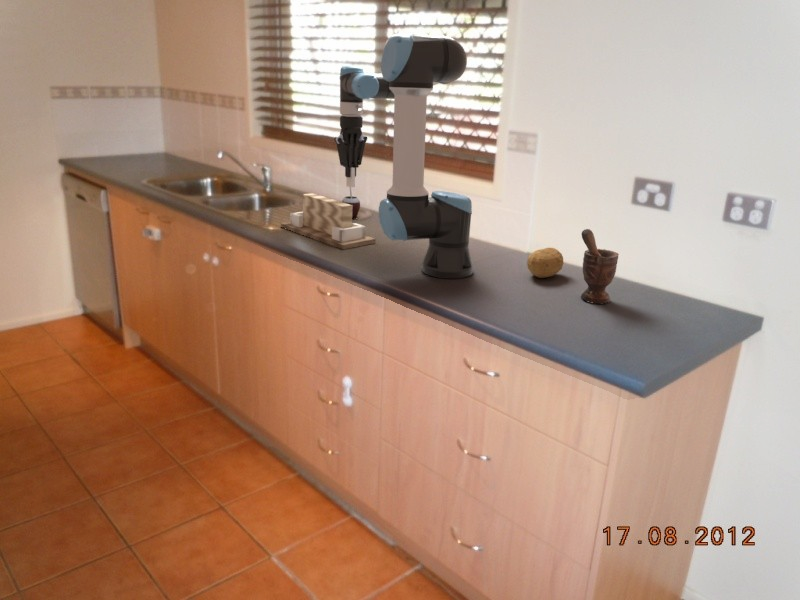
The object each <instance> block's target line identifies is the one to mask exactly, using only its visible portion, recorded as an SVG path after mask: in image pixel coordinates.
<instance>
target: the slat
mask: <svg viewBox="0 0 800 600" xmlns="http://www.w3.org/2000/svg"><path fill="white" fill-rule="evenodd" d="M352 209H353V205H350V204H346V203H343V202H342V201H339V200H337V199H332V198H329V197H326V196H323V195H319V194H316V193H313V192H312V193H311V192H309V193H304V194H302V212H303V225H305V226H308V227H311V228H313V229H316V230H319V231H322V232H324V233H327V234H330V235H332V227H335V226H336V227H339V228H342V229H344V228H350V227H352V224H353V219H352Z"/></svg>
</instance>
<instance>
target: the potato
mask: <svg viewBox="0 0 800 600" xmlns="http://www.w3.org/2000/svg"><path fill="white" fill-rule="evenodd" d="M526 266H527V270H529V272H530V273H531V275H533V276H535V277H536V278H539V279H544V278H549V277H552V276H555V275H556V274H557V273H558V272H560V271H561V270H562V269H563V267H564V256H563V254H562V252H560V251H559V250H558V249H556V248H555V247H545V248H541V249H537V250H535V251H533V252H531V253H530V254H529V256H528V257H527V261H526Z"/></svg>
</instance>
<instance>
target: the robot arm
mask: <svg viewBox="0 0 800 600" xmlns="http://www.w3.org/2000/svg"><path fill="white" fill-rule="evenodd" d="M381 56H382V57H381V62H380V63H381V64H380V71H381V73H368V72H367V73H365V72H364V69H363V67H361V66H345V65H344V66H341V67H340V72H339V73H340V74H339V114H340V115H341V116H340V117H339V126H340V131H339V135H338V136H336V137H334V142H335V144H336V148H337V153H338V159H339V164H340V166H342V167H343V168H344V172H345V173H344V176H345V179H346V187H349V188H350V187H351V188H355V187H356V177H357V168H359V167H360V166H361V165H362V161H363V156H364V152H365V146H366V142H368V137H367V136H365V135H364V134H363V132H362V128H363V124H364V123H363V109H364V105H363V104H364V100H369V99H378V100H379V99H381V100H383V99H386V100H387V99H388V100H389V99H392V100H393V99H394V107H393V141H392V142H393V146H392V147H393V148H392V149H393V151H392V152H393V153H392V185H391V186H390V188H389V189H388V190H386V198H383V199H382V200H381V201H380V202H379V205H378V218H379V224H380V227H381V229H382V232H383V234H384V235H385V236H386V238H387V239H389V240H390V241H395V242H396V241H402V242H406V241H414V240H415V241H416V240H428V247H427V249H426V252H425V253H424V255H423V256H424V257H423V259H422V262H421V272H422V273H423V274H426V275H428V276H431V277H435V278H440V279H463V278H467V277H469V276H472V275H473V270H474V263H473V259H472V257H471V252H470V249H469V248H470V235H471V234H470V233H471V232H470V231H471V220H472V219H471V218H472V214H473V213H472V212H473V210H472V200H471V198H470V197H468V196H466V195H464V194H460V193H456V192H450V191H444V190H433V191H432V193H431V194H430V193H429V191H428V190H427V189H426V188H425V187H424V185H425V183H424V181H425V180H424V179H425V155H426V154H425V152H426V132H427V131H426V127H427V122H426V121H427V103H428V102H427V100H428V95H429V94H430V93H431V92H432V91H433V90H434V86H436V85H438V84H440V85H441V84H442V85H447V84H451V83H454V82H455V81H457V80H458V79H459V78H461V77H462V76H463V74H464V73H465V71H466V68H467V64H468V58H467V54H466V51H465V48H464V47H463V46H462V45H461V43H460V42H458V41H457V40H456V39H454V38H452V37H449V36H446V35H433V34H429V35H428V34H421V33H409V32H408V33H396V34H393V35H391V36H390V38H389V39H388V40H387V41H386V44H384V48H383V51H382V55H381ZM429 195H430V197H429Z"/></svg>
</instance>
